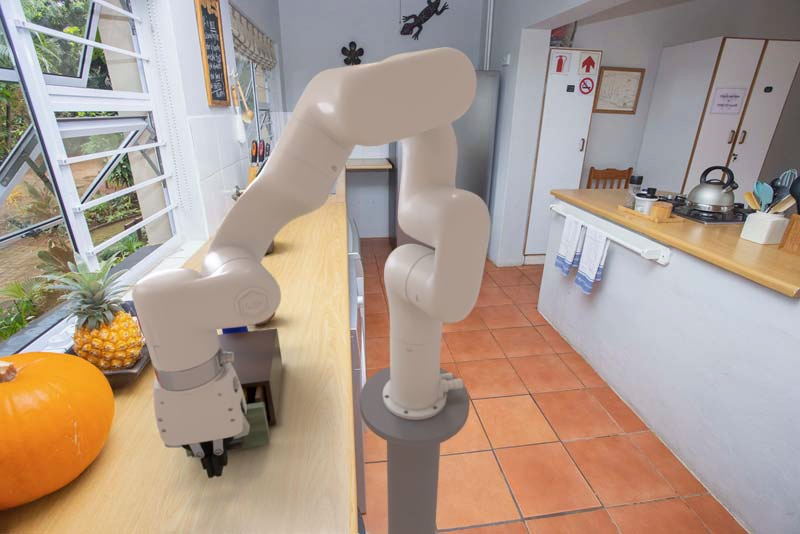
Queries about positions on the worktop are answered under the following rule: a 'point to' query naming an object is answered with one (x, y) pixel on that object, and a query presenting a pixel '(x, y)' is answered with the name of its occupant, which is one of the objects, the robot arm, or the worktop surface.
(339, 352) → the worktop surface
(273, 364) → the cabinet
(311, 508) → the worktop surface
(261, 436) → the drawer
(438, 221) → the robot arm
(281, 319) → the worktop surface
